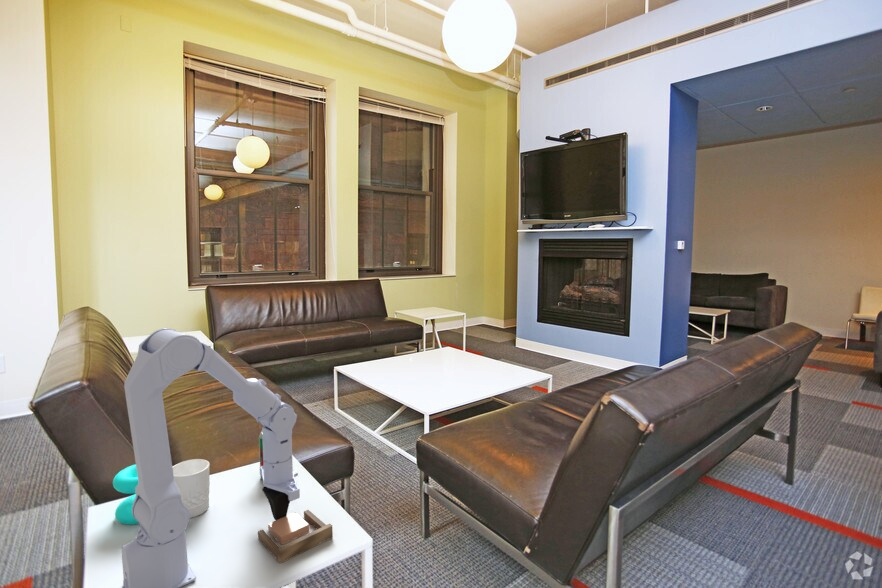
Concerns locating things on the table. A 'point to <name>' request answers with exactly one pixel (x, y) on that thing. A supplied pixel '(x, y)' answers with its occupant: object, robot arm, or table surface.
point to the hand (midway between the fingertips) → (280, 518)
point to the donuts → (126, 484)
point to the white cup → (193, 484)
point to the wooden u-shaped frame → (301, 543)
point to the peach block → (288, 528)
